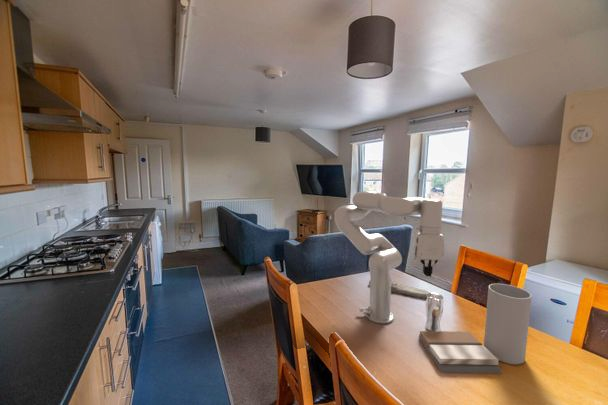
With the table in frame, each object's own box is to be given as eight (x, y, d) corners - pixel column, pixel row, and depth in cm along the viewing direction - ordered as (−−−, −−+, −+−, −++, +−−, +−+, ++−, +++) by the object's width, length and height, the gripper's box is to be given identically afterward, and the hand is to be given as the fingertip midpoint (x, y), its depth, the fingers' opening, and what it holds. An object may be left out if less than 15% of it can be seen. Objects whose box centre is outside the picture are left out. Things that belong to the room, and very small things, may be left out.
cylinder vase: (527, 370, 92) (535, 302, 89) (484, 357, 98) (489, 293, 95) (521, 350, 102) (528, 288, 99) (482, 339, 109) (487, 281, 106)
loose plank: (440, 364, 92) (440, 358, 92) (429, 349, 100) (429, 344, 100) (498, 364, 92) (498, 359, 92) (482, 350, 100) (483, 345, 100)
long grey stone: (431, 305, 140) (432, 298, 148) (432, 295, 139) (434, 289, 148) (366, 287, 157) (371, 282, 166) (367, 278, 157) (372, 273, 165)
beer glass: (440, 325, 118) (442, 293, 117) (443, 334, 112) (445, 300, 110) (423, 322, 121) (425, 291, 119) (425, 331, 114) (427, 298, 112)
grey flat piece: (442, 372, 91) (442, 362, 90) (418, 338, 109) (419, 329, 109) (501, 373, 90) (502, 363, 90) (467, 338, 109) (468, 330, 109)
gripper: (414, 232, 101) (412, 278, 103) (454, 232, 100) (451, 279, 103) (407, 228, 108) (405, 271, 110) (444, 228, 108) (441, 271, 110)
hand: (427, 275), depth 106 cm, fingers closed
